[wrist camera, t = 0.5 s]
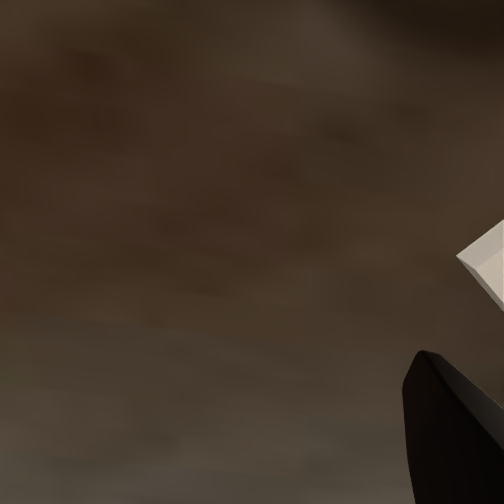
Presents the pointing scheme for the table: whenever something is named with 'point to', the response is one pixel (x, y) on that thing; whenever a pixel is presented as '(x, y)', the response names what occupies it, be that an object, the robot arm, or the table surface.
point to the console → (487, 262)
